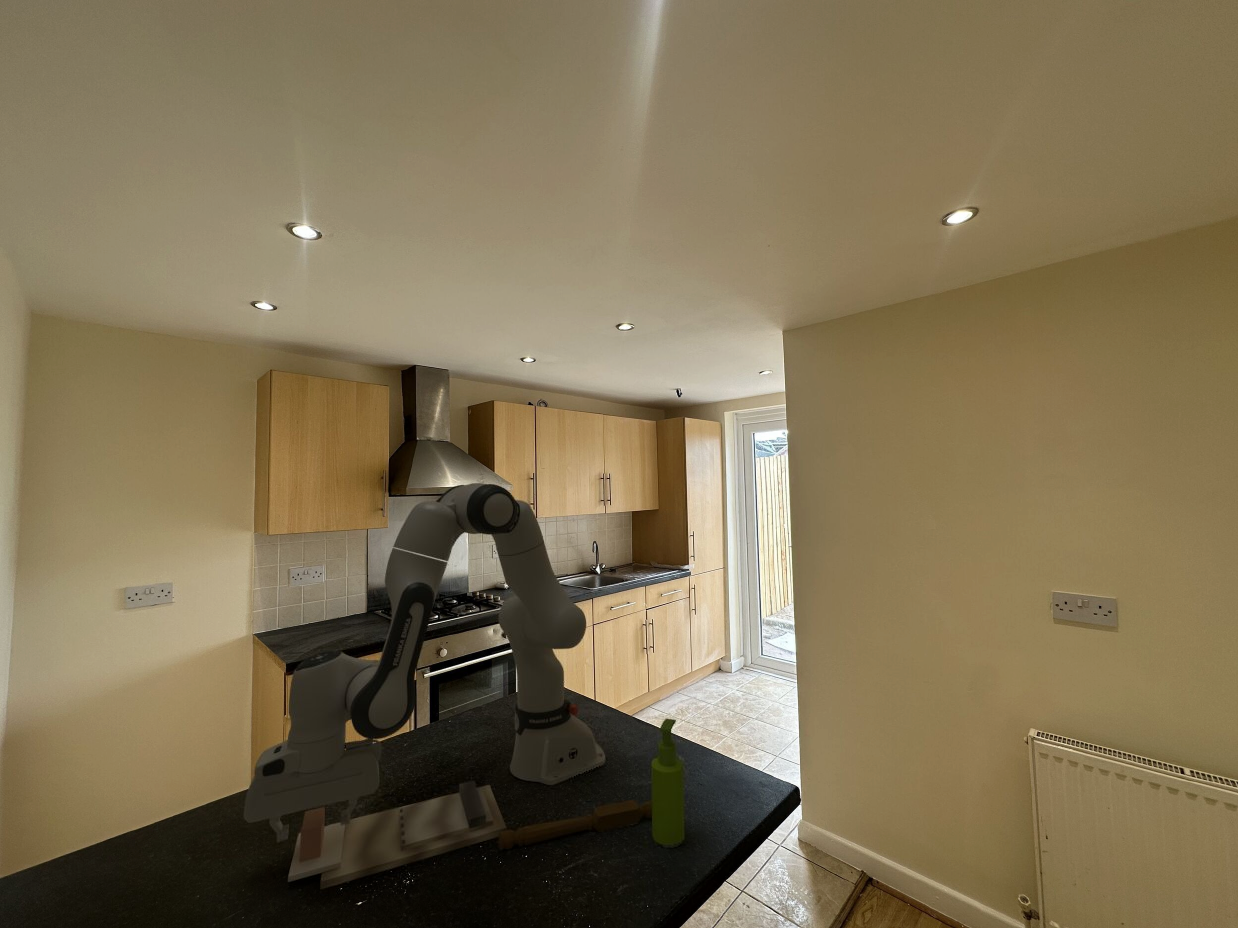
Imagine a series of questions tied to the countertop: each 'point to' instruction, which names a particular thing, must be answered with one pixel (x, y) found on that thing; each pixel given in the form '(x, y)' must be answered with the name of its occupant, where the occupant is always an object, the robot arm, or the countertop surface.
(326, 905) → the countertop surface
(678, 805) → the soap dispenser
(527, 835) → the tap handle
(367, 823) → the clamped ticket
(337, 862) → the stub
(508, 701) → the countertop surface
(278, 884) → the countertop surface
